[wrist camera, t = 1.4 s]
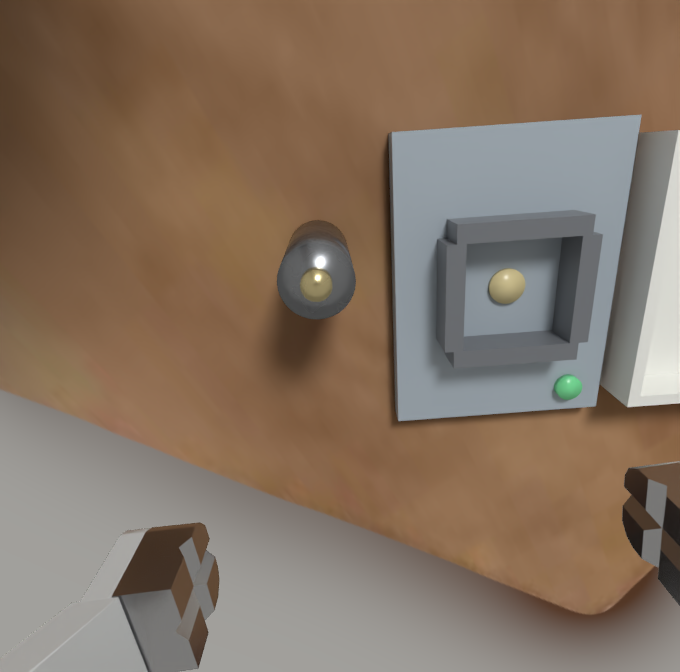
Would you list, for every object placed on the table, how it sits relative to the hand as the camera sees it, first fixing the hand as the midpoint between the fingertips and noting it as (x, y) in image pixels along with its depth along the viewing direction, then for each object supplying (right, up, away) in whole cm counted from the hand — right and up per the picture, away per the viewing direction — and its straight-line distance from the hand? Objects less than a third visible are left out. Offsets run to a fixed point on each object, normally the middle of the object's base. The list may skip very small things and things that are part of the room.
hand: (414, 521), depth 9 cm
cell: (-3, +9, +23) cm, 25 cm away
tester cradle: (+10, +8, +24) cm, 27 cm away
